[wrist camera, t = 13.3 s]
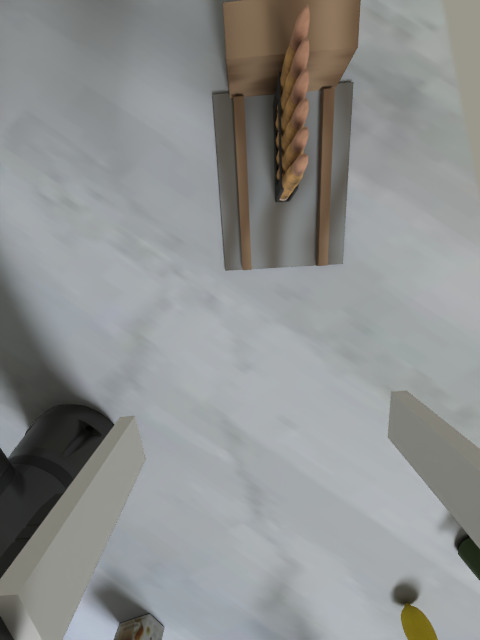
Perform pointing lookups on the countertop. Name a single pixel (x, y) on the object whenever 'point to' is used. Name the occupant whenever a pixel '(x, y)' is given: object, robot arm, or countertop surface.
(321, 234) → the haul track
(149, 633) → the coffee box
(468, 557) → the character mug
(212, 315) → the countertop surface
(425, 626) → the lemon
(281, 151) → the ammunition clip
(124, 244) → the countertop surface
